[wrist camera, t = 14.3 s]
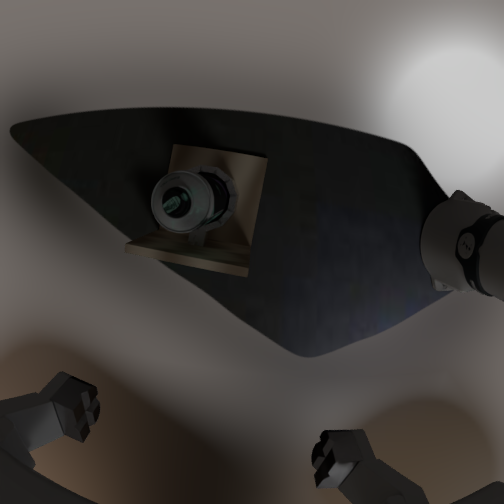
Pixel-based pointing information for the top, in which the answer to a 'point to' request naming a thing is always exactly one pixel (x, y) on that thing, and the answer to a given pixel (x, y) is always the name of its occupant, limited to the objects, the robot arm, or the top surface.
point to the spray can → (188, 200)
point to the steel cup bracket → (201, 234)
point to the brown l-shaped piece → (222, 238)
